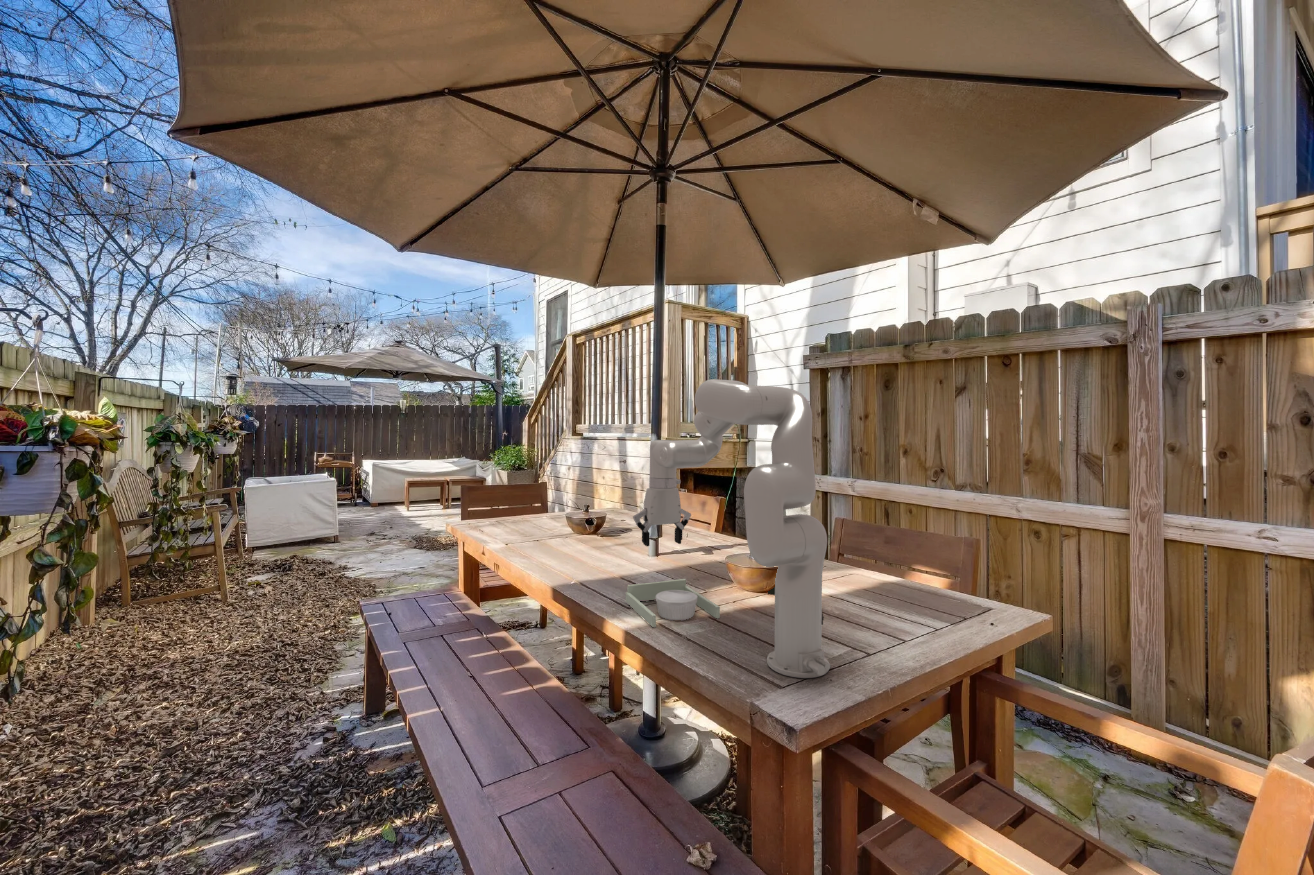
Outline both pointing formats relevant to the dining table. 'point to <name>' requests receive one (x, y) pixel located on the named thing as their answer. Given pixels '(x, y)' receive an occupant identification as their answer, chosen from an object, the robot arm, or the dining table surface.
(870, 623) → the dining table surface
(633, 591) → the green three-sided fence
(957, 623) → the dining table surface
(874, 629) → the dining table surface
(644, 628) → the dining table surface
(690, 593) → the ramekin
